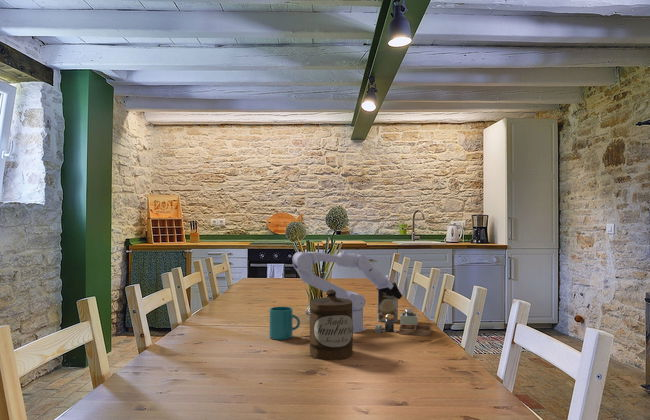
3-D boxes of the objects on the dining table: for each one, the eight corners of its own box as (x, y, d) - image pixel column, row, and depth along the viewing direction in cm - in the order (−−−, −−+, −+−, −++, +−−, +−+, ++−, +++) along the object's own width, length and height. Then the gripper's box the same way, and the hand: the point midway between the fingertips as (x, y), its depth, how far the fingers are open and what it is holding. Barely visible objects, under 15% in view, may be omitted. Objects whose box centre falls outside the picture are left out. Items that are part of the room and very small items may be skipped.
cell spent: (410, 326, 197) (410, 309, 198) (403, 324, 200) (403, 308, 200) (414, 324, 200) (414, 308, 200) (407, 323, 202) (407, 307, 203)
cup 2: (400, 327, 197) (400, 315, 197) (401, 324, 204) (401, 312, 204) (417, 328, 196) (417, 316, 196) (417, 324, 203) (417, 313, 203)
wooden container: (315, 361, 149) (316, 293, 150) (305, 349, 164) (305, 287, 164) (358, 358, 153) (358, 292, 154) (345, 346, 168) (345, 286, 168)
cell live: (390, 332, 186) (390, 315, 186) (383, 331, 189) (383, 314, 189) (395, 331, 189) (395, 314, 189) (388, 329, 191) (388, 312, 192)
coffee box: (377, 323, 206) (377, 287, 206) (377, 320, 212) (377, 285, 212) (398, 323, 205) (398, 287, 205) (397, 320, 211) (397, 285, 211)
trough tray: (399, 335, 183) (399, 329, 183) (400, 330, 193) (400, 323, 193) (431, 337, 181) (431, 330, 181) (430, 331, 190) (430, 325, 190)
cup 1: (298, 340, 175) (298, 311, 175) (267, 339, 176) (267, 310, 177) (301, 335, 184) (301, 306, 184) (272, 334, 185) (272, 306, 186)
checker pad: (374, 333, 186) (374, 328, 186) (376, 329, 194) (376, 324, 194) (396, 335, 184) (396, 329, 184) (397, 330, 192) (397, 325, 192)
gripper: (388, 270, 189) (410, 291, 192) (373, 266, 203) (394, 286, 206) (377, 283, 188) (399, 304, 190) (364, 279, 201) (385, 298, 204)
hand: (396, 296), depth 198 cm, fingers open, 7 cm apart
